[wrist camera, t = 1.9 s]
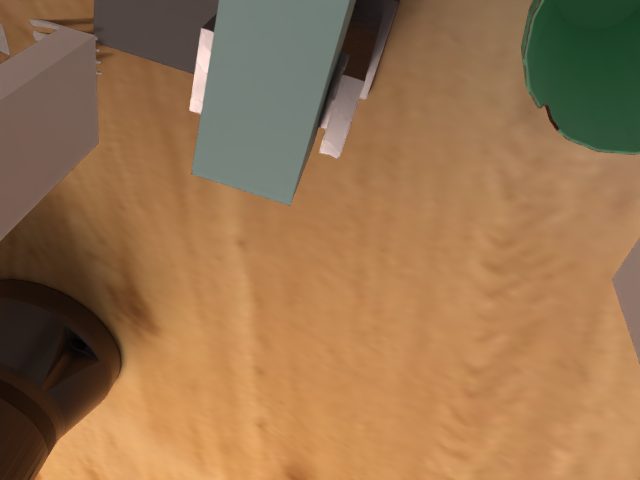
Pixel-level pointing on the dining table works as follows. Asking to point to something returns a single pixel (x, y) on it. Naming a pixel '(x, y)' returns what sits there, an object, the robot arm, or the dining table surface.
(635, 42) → the green cup
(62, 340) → the robot arm
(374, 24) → the stand
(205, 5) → the mat
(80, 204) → the dining table surface
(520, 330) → the dining table surface
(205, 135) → the rail
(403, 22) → the dining table surface
